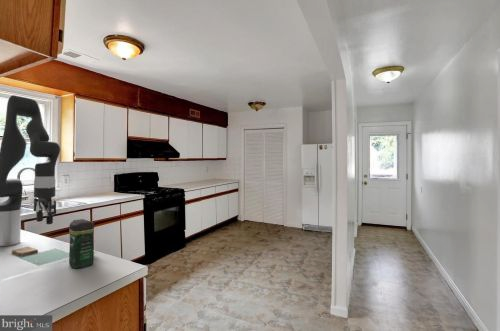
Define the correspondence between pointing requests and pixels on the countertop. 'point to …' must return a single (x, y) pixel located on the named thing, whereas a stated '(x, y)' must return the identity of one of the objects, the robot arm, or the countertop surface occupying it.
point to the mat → (46, 256)
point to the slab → (24, 251)
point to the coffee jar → (81, 243)
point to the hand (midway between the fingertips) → (44, 222)
